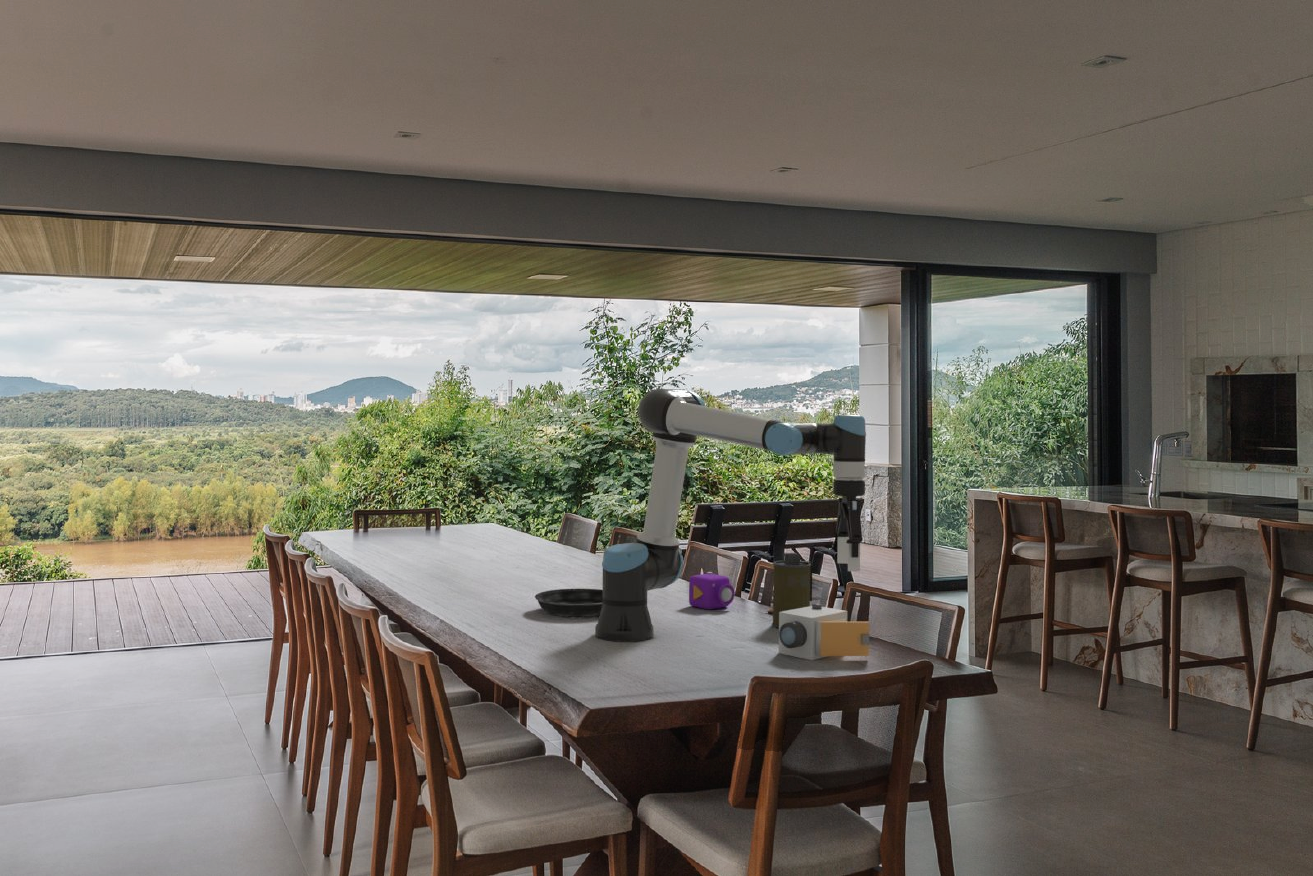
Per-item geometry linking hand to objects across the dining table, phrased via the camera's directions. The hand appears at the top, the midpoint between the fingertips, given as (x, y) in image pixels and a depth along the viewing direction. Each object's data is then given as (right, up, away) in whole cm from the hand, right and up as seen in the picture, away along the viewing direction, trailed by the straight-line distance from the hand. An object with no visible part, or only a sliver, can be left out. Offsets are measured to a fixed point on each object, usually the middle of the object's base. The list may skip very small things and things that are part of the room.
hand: (848, 567), depth 257 cm
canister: (-9, -21, +36) cm, 42 cm away
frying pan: (-64, -20, +57) cm, 88 cm away
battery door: (-2, -20, -5) cm, 21 cm away
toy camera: (-29, -20, +62) cm, 72 cm away
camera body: (-9, -21, +2) cm, 23 cm away
